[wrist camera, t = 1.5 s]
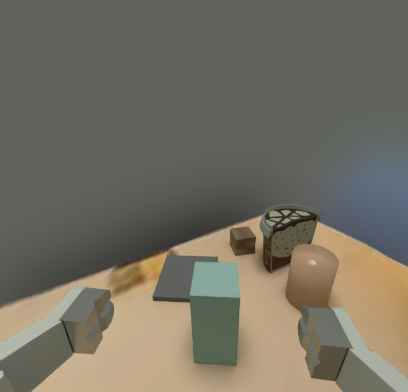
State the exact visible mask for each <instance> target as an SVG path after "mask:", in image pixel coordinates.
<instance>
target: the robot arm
mask: <svg viewBox="0 0 408 392" xmlns="http://www.w3.org/2000/svg"><path fill="white" fill-rule="evenodd" d="M110 298H111V292H110V290H105V289H96V288H87V287H86V288H85V287H74V288H72V289H71V290H70V291H69V292H68V294H67V295H66V296H65V297H64V298H63V299H62V301H61V302H60V303H59V304H58V305H57V307H56V308H55V309H54V310H53V311H52V312H51V314H50V315H49V316H48V317H47V318H46V319H41V320H40V321H38V322H36V323H35V324H33V325H31V326H30V327H28V328H26V329H24V330H23V331H21V332H19V333H18V334H16V335H14V336H12V337H11V338H9V339H7V340H6V341H4V342H2V343H1V344H0V392H31V391H32V390H34V389H35V388H36V387H37V386H38V385H39V384H40V383H41V382H43V381H44V380H45V379H46V378H47V377H48V376H49V375H50V374H52V373H53V372H54V371H55V370H56V369H57V368H58V367H59V366H61V365H62V364H63V363H64V362H65V361H66V360H67V359H69V358H70V357H71V356H72V355H73V353H82V354H94V353H95V351H96V350H97V348H98V346H99V344H100V342H101V340H102V338H103V336H102V332H103V331H104V330H106V329H107V328H108V327H109V325H110V323H111V321H112V318H113V314H114V306H113V303H112V302H111V301H110ZM301 313H302V316H303V317H302V318H301V319H300V320H299V323H298V335H299V340H300V344H301V346H302V347H303V349H304V350H305V351H306V352H307V353H306V357H305V360H306V363H307V366H308V369H309V373H310V376H311V378H315V379H322V380H329V381H336V384H337V385H338V386H339V387H340V389H341V390H342V391H343V392H408V378H407V377H405V376H404V375H403V374H402V373H401V372H399V371H398V370H397V369H396V368H395V367H393V366H392V365H391V364H390V363H388V362H387V361H386V360H385V359H384V358H382V357H381V356H380V355H379V354H378V353H376V352H375V351H371V350H369V348H368V346H367V345H366V343H365V341H364V339H363V338H362V336H361V334H360V333H359V331H358V329H357V328H356V326H355V324H354V323H353V321H352V319H351V317H350V316H349V314H348V312H347V311H346V310H345V309H344V308H333V307H330V308H329V307H321V306H306V305H304V306H303V307H302V310H301Z"/></svg>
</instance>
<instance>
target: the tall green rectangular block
mask: <svg viewBox="0 0 408 392" xmlns="http://www.w3.org/2000/svg"><path fill="white" fill-rule="evenodd" d="M190 307H191V323H192V338H193V353H194V363H207V364H221V365H235V366H236V358H237V342H238V326H239V309H240V290H239V279H238V268H237V263H219V262H195V267H194V273H193V279H192V285H191V291H190Z"/></svg>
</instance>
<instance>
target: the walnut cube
mask: <svg viewBox="0 0 408 392" xmlns="http://www.w3.org/2000/svg"><path fill="white" fill-rule="evenodd" d="M255 242H256V236H255V235H254V234H253V232H252V231H251V229H250V228H249V227H241V228H232V229H230V245H231V247H232V249H233V251H234V253H235V255H236V256H238V255H245V254H252V253H255Z"/></svg>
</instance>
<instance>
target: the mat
mask: <svg viewBox="0 0 408 392" xmlns="http://www.w3.org/2000/svg"><path fill="white" fill-rule="evenodd" d="M195 262H218V257H206V256H176V255H167V257H166V260H165V263H164V266H163V269H162V272H161V274H160V277H159V280H158V283H157V286H156V289H155V291H154V294H153V300H158V301H178V302H190V291H191V285H192V279H193V273H194V267H195Z"/></svg>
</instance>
